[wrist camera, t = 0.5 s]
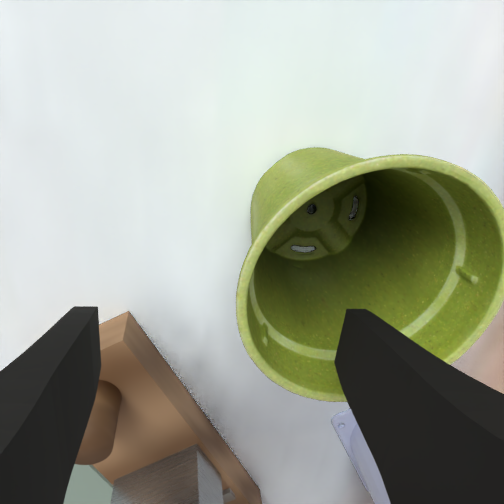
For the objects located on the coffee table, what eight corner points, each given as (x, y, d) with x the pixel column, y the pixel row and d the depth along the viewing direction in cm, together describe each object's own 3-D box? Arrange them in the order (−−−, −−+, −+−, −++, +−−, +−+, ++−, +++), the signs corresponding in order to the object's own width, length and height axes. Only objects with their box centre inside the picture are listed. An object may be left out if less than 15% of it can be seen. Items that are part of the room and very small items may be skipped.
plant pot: (378, 284, 24) (469, 395, 16) (215, 289, 23) (231, 413, 15) (414, 115, 20) (558, 159, 12) (218, 108, 19) (243, 152, 11)
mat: (134, 502, 29) (133, 508, 29) (34, 546, 30) (33, 552, 29) (45, 415, 25) (43, 421, 24) (-71, 468, 25) (-75, 474, 25)
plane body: (259, 489, 31) (273, 572, 26) (186, 520, 31) (187, 609, 26) (128, 311, 22) (113, 384, 18) (31, 356, 23) (-10, 440, 18)
